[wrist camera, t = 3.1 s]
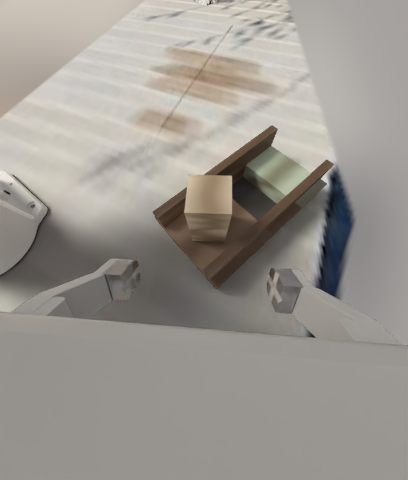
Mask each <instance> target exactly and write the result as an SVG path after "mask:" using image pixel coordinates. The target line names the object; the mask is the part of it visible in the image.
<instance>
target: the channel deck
mask: <svg viewBox="0 0 408 480" xmlns="http://www.w3.org/2000/svg"><path fill="white" fill-rule="evenodd" d="M277 130H278V129H277V128H275V127H274V126H270V127H269V128H268V129H266V130H265V131H263V132H262V133H261V134H259V135H258V136H257V137H255V138H254V139H252V140H251V141H250V142H248V143H247V144H246V145H244V146H243V147H241V148H240V149H239V150H237V151H236V152H235V153H233V154H232V155H230V156H229V157H228V158H226V159H225V160H224V161H222V162H221V163H219V164H218V165H217V166H215V167H214V168H213V169H211V170H210V171H208V172H207V173H206V174H204V175H220V176H232V216H231V220H230V224H229V227H228V231H227V235H226V238H225V242H205V241H193V240H192V236H191V233H190V230H189V227H188V223H187V220H186V217H185V214H184V209H185V201H186V193H187V187H186V188H185V189H184V190H182V191H181V192H180V193H178V194H177V195H175V196H174V197H173V198H171V199H170V200H169V201H167V202H166V203H164V204H163V205H162V206H160V207H159V208H158V209H156V210H155V211H153V213H154V215H155V218H156V219H157V221H158V222H159V224H160V225H161V226H162V227H163V228H164V230H165V231H166V232H167V233H168V234H169V235H170V237H171V238H172V239H173V240H174V241H175V242H176V243H177V245H178V246H179V247H180V248H181V249H182V250H183V252H184V253H185V254H186V255H187V256H188V257H189V258H190V260H191V261H192V262H193V263H194V264H195V265H196V266H197V268H198V269H199V270H200V271H201V272H202V273H203V275H204V276H205V277H206V278H207V279H208V280H209V281H210V283H211V284H212V285H213V286H214V287H215V288H216V289H217V288H218V287H219V286H220V285H221V284H222V283H223V282H224V281H225V280H226V279H227V278H228V277H229V276H230V275H231V274H233V273H234V272H235V271H236V270H237V269H238V268H239V267H240V266H241V265H242V264H243V263H244V262H245V261H246V260H247V259H248V258H249V257H251V256H252V255H253V254H254V253H255V252H256V251H257V250H258V249H259V248H260V247H261V246H262V245H263V244H264V243H265V242H266V241H267V240H269V239H270V238H271V237H272V236H273V235H274V234H275V233H276V232H277V231H278V230H279V229H280V228H281V227H282V226H283V225H284V224H285V223H286V222H288V221H289V220H290V219H291V218H292V217H293V216H294V215H295V214H296V213H297V212H298V211H299V210H300V209H301V208H302V207H303V206H304V205H306V204H307V203H308V202H309V201H310V200H311V199H312V198H313V197H314V196H315V195H316V194H317V193H318V192H319V191H320V190H321V189H322V188H323V187H324V186H325V185H327V183H325V182H324V181H322V180H321V178H322V177H323V175H324V174H325V173H326V172H327V171H328V170H329V169H330V168H331V167H332V166H333V165H334V164H333V163H331V162H330V161H328V160H326V161H325V162H323V163H322V164H321V165H320V166H319V167H318V168H317V169H316V170H314V171H313V172H312V173H310V172H309V171H307V170H306V169H305V168H303V167H302V166H300V165H299V164H297V163H296V162H294V161H293V160H291V159H290V158H288V157H287V156H285V155H284V154H282V153H281V152H279V151H278V150H276V149H275V148H273V147H272V146H271V144H272V142H273V139H274V137H275V135H276V132H277Z"/></svg>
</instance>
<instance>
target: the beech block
mask: <svg viewBox="0 0 408 480" xmlns="http://www.w3.org/2000/svg"><path fill="white" fill-rule="evenodd" d="M184 214H185V217H186V220H187V223H188V227H189V230H190V233H191V236H192V240H193V241H205V242H225V238H226V235H227V231H228V227H229V224H230V220H231V216H232V176H220V175H189V177H188V185H187V193H186V201H185V209H184Z"/></svg>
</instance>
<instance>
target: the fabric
mask: <svg viewBox="0 0 408 480" xmlns="http://www.w3.org/2000/svg"><path fill="white" fill-rule="evenodd" d="M194 1H197V2H198V3H199V4H204V5H207V4H209V3H211V4H213V1H212V0H194ZM199 1H200V2H199ZM214 2H217V3H218V1H217V0H215V1H214Z"/></svg>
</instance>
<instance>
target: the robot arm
mask: <svg viewBox="0 0 408 480" xmlns="http://www.w3.org/2000/svg"><path fill="white" fill-rule="evenodd" d="M46 213H47V207H46V206H45V205H44V204H43V203H42V202H41V201H40V200H38V199H37V198H36V197H35V196H34V195H33V194H32V193H31V192H30V191H29V190H28V189H27V188H26V187H24V186H23V185H22V184H21V183H20V182H19V181H18V180H17V179H16V178H15V177H14V176H13V175H11V174H10V173H8V172H6V171H0V275H1V274H3V273H4V272H6V271H7V270H9V269H10V268H11V267H13V266H14V265H15V264H16V263H17V262H18V261H19V260H20V259H21V258H22V257H23V256H24V255H25V253H26V252H27V251H28V249H29V248H30V246H31V244H32V243H33V241H34V238H35V235H36V232H37V228H38V225H39V223H40V222H41V221H42V219H43V218H44V216H45V215H46ZM137 267H138V263H137V261H136V260H127V259H110V260H108V261H107V262H106V263H105V264H104V265H102V266H101V267H100V268H99V269H98V270H96V271H95V272H94V273H93V274H88V275H85V276H82V277H80V278H77V279H75V280H72V281H70V282H67V283H64V284H62V285H59V286H57V287H54V288H51V289H49V290H46V291H44V292H41V293H39V294H36V295H35V296H33V297H32V298H30V299H29V300H28V301H26V302H25V303H23V304H22V305H20V306H19V307H18V308H16V309H15V310H13V311H12V312H0V480H408V345H401V344H400V343H399V342H398V341H397V340H396V339H395V338H394V337H393V336H392V335H391V334H390V333H389V332H388V331H387V330H386V329H384V328H383V327H382V326H381V325H380V324H379V323H378V322H377V321H376V320H375V319H373V318H371V317H369V316H367V315H366V314H363V313H362V312H360V311H358V310H356V309H355V308H353V307H351V306H349V305H347V304H346V303H344V302H342V301H340V300H338V299H337V298H335V297H333V296H331V295H329V294H328V293H326V292H324V291H322V290H320V289H318V288H315V287H314V286H313V285H312V284H311V282H310V281H309V280H308V279H307V278H306V276H305V275H304V274H303V273H302V272H301V270H299V269H275V268H271V270H270V273H269V275H270V277H271V278H270V279H269V280H268V282H267V292H268V295H269V297H270V298H272V302H271V303H272V305H273V307H274V310H275V312H279V313H289V314H292V315H293V316H294V317H295V318H296V319H297V320H298V321H299V322H300V323H301V324H302V325H303V326H304V327H305V328H306V329H308V330H309V331H310V332H311V333H312V334H313V335H314V336H315V337H316V338H312V337H299V336H287V335H274V334H263V333H251V332H239V331H227V330H216V329H203V328H191V327H179V326H167V325H155V324H143V323H131V322H119V321H107V320H95V319H87V318H89V317H90V316H92V315H93V314H94V313H96V312H97V311H99V310H100V309H102V308H103V307H105V306H106V305H107V304H109V303H110V302H112V300H116V301H127V300H128V299H129V297H130V296H131V294H132V293H133V291H132V289H134V288H136V287H137V285H138V284H139V281H140V272H139V271H138V270H137Z"/></svg>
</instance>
